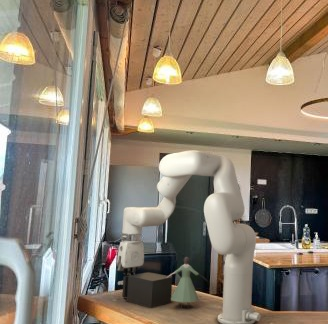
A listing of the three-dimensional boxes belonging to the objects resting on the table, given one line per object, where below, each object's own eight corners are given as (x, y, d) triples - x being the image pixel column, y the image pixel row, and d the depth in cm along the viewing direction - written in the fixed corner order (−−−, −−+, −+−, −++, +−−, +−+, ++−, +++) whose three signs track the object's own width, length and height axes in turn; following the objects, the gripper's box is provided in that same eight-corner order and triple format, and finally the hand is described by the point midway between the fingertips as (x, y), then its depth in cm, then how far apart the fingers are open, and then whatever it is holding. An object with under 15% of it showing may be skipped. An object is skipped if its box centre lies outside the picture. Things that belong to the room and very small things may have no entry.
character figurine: (209, 304, 144) (211, 255, 146) (207, 310, 136) (209, 259, 137) (167, 303, 144) (170, 254, 145) (162, 309, 135) (165, 257, 137)
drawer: (114, 294, 150) (115, 274, 150) (131, 290, 157) (133, 271, 157) (144, 302, 140) (145, 281, 141) (161, 298, 147) (162, 277, 148)
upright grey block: (126, 301, 144) (128, 275, 145) (146, 296, 153) (148, 272, 153) (151, 307, 137) (152, 281, 138) (171, 302, 145) (172, 276, 146)
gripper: (122, 240, 145) (119, 289, 144) (152, 237, 158) (149, 283, 156) (109, 238, 149) (106, 286, 148) (140, 236, 162) (137, 280, 160)
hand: (128, 284), depth 152 cm, fingers closed
